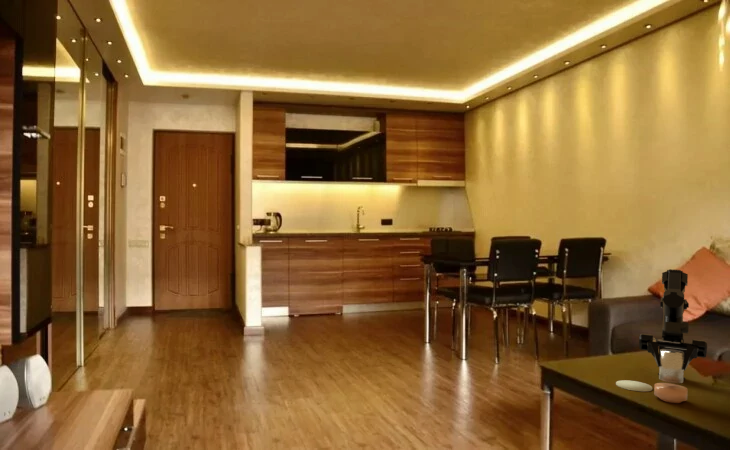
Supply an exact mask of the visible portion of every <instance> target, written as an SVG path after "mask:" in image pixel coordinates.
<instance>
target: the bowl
mask: <svg viewBox="0 0 730 450" xmlns="http://www.w3.org/2000/svg"><path fill="white" fill-rule="evenodd" d="M653 387H654V390H653V391H654V392H653V394H654V395H653V396H655V397H657V398H659V400H661V401H663V402H665V403H666V402H667V403H672V404H680V403H682V402H685V401H687V400H688V388H687V387H686V386H683V385H681V384H680V385H679V384H677V383H670V382H657V383H654V386H653Z"/></svg>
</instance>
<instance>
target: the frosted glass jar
mask: <svg viewBox="0 0 730 450" xmlns="http://www.w3.org/2000/svg"><path fill="white" fill-rule="evenodd" d="M658 368H659V370H658V373H659V375H658V379H659V380H660V381H662V382H664V383H671V384H682V383H684V379H683V377H684V352H682V351H679V350H673V349H660V367H658Z"/></svg>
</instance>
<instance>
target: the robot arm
mask: <svg viewBox="0 0 730 450" xmlns="http://www.w3.org/2000/svg"><path fill="white" fill-rule="evenodd" d="M661 274H662V275H661V284H662V285H663V296H662V297H660V303H659V305H660V306H659V307H660V308H661V309H662V313H663V317H662V329H661V339H658V338H656V337H654V335H653V334H650V333H649V334H647V333H641V334H639V337H638V338H639V339H638V345H639V347H638V348H639V350H641V351H646V352H647V353H649V354H651V356H652V357H653V359H654V361H655V363H656V366H657V367H658V368H659V367H660V349H673V350H679V351H682V352H684V371H686V369H687V368H688V367H689V364H690V363H691V362H692V361H693V359H697V358H706V357H707V351H708V350H707V349H708V343H707V341H706V340H703V339H694V338H693V339H692V338H691V339H692V340H691V343H688V342H685V339H684V334H689V322H686V321H684V316H683V315H684V313H685V311H687V309H689V305H690V304H689V302H688V300H687V299H686V298H685V292H686V287H688V279H689V278H688V277H689V276H688V273H685V272H684V271H683V270H681V269H666V271H663V272H662V273H661ZM657 375H658V376H659V372H658V373H657ZM683 380H686V377H685V376H683Z"/></svg>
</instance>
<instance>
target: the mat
mask: <svg viewBox="0 0 730 450" xmlns="http://www.w3.org/2000/svg"><path fill="white" fill-rule="evenodd" d="M615 385H616V387H619V388H621V389H624V390H628V391H632V392H645V393H646V392H651V391H653V386H652V385H650V384H648V383H645V382H641V381H637V380H627V379H626V380H625V379H624V380H622V379H621V380H617V381H615Z"/></svg>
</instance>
